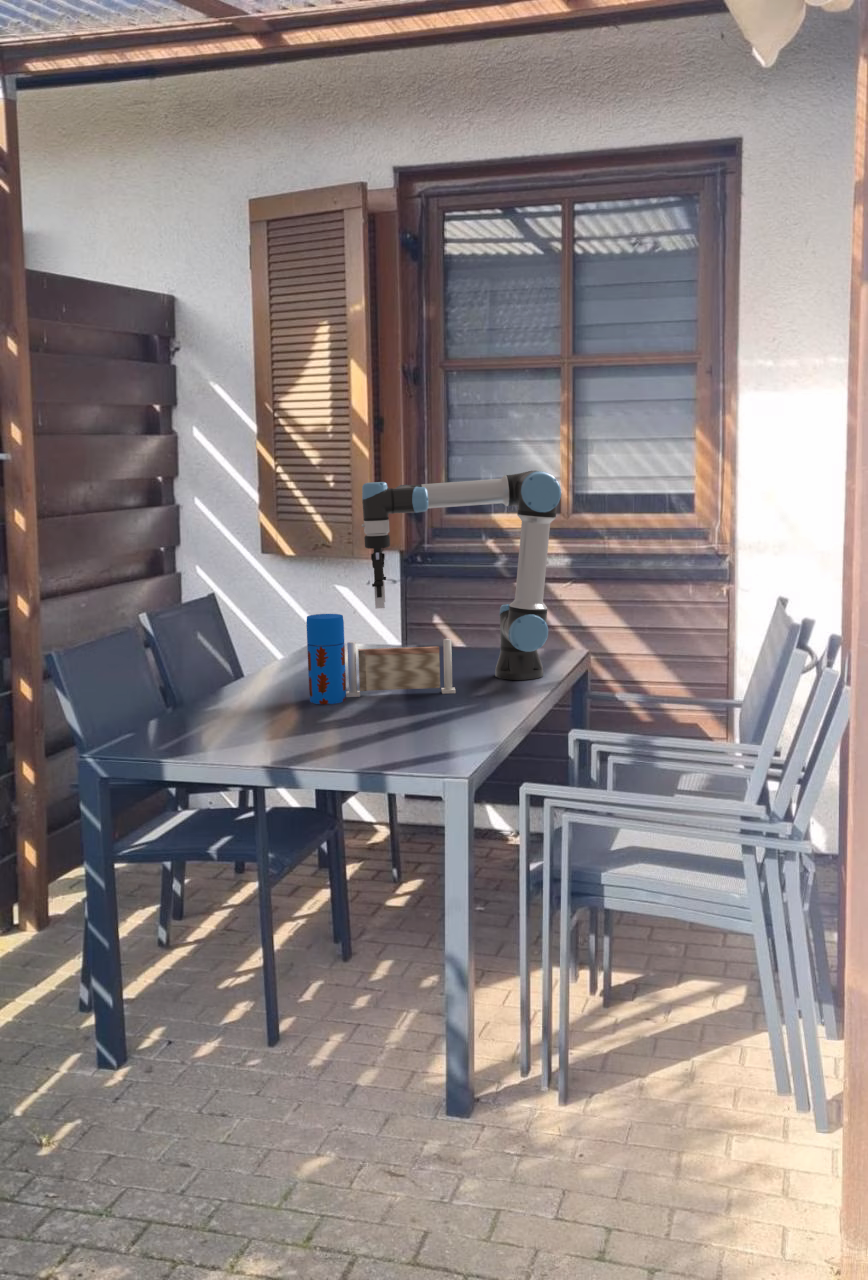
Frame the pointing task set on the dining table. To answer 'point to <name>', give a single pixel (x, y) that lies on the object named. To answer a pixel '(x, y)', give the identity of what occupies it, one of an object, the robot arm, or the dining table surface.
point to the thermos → (326, 658)
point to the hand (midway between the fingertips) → (380, 605)
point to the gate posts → (353, 676)
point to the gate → (399, 668)
